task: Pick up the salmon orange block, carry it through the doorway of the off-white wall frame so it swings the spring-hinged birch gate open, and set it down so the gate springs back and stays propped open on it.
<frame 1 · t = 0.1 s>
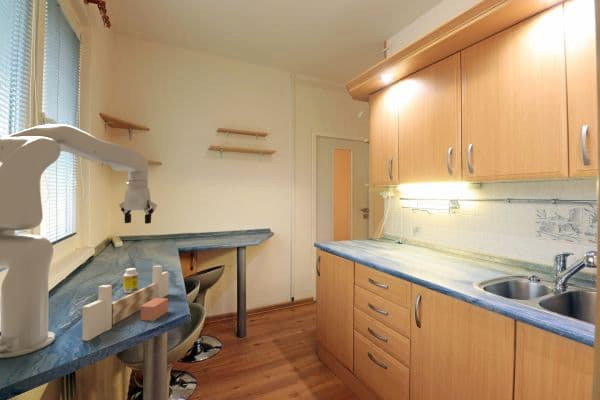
hand: (137, 223, 123), 31 cm above the worktop, fingers open, 9 cm apart
salmon orange block: (154, 316, 99), on the worktop
supplement bottle: (130, 292, 124), on the worktop
gate door: (134, 302, 102), point 4 cm above the worktop, hinge at 0.0°
wall frame: (135, 311, 102), on the worktop
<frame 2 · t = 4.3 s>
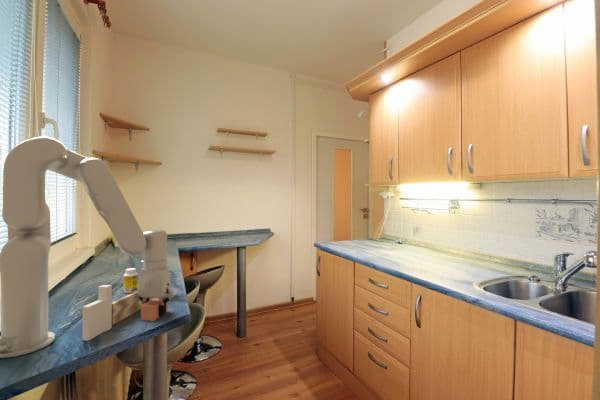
hand: (154, 314, 99), 0 cm above the worktop, fingers closed on salmon orange block, 5 cm apart
salmon orange block: (154, 315, 99), on the worktop, touching gripper
everything else where it was.
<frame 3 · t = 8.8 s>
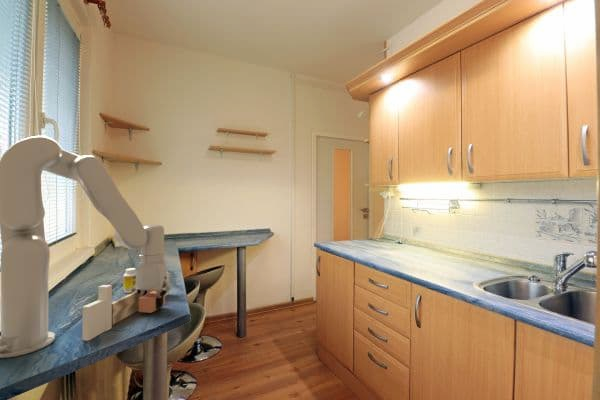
hand: (152, 306, 103), 2 cm above the worktop, fingers closed on salmon orange block, 5 cm apart
salmon orange block: (152, 307, 103), point 1 cm above the worktop, touching gripper
gate door: (134, 302, 102), point 4 cm above the worktop, hinge at 0.6°, touching gripper
everything else where it was.
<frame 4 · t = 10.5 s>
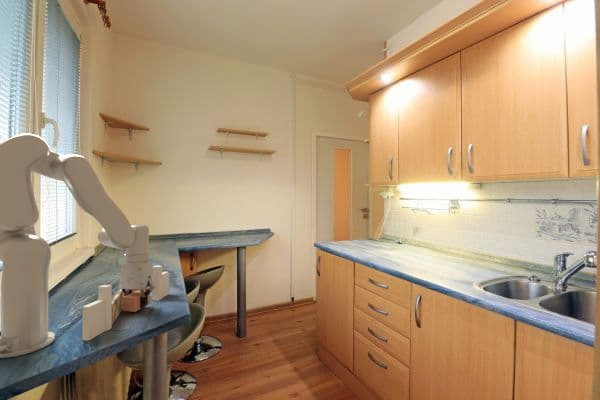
hand: (136, 305, 103), 2 cm above the worktop, fingers closed on salmon orange block, 5 cm apart
salmon orange block: (137, 306, 103), point 1 cm above the worktop, touching gripper
gate door: (118, 302, 101), point 4 cm above the worktop, hinge at 27.8°, touching gripper
everything else where it was.
when the fingers open (2 cm above the worktop, at t = 12.7 s): salmon orange block drops 2 cm, on the worktop.
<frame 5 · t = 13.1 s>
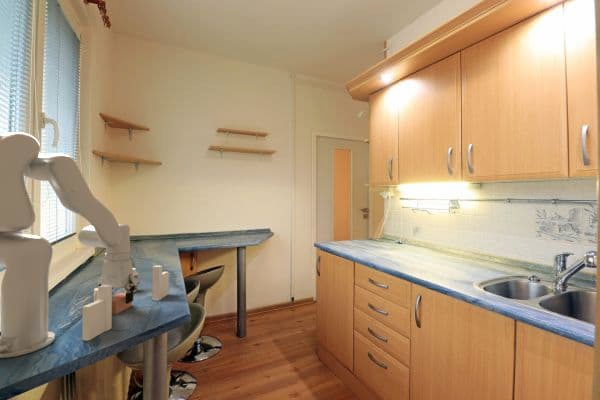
hand: (118, 301, 105), 3 cm above the worktop, fingers open, 9 cm apart
salmon orange block: (118, 309, 105), on the worktop
gate door: (102, 305, 98), point 4 cm above the worktop, hinge at 52.8°, touching gripper
everything else where it was.
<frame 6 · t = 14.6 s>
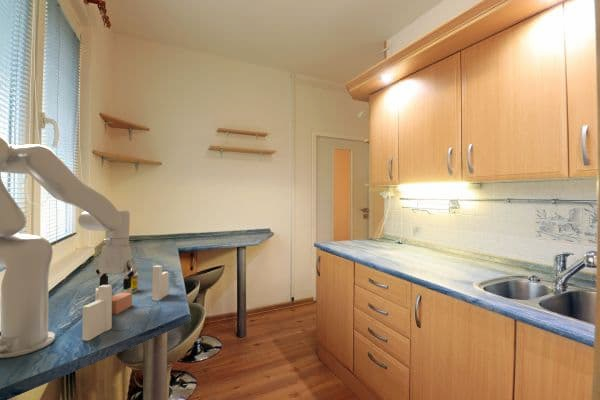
hand: (115, 288, 104), 8 cm above the worktop, fingers open, 9 cm apart
salmon orange block: (118, 309, 105), on the worktop, touching gate door
gate door: (103, 305, 98), point 4 cm above the worktop, hinge at 51.5°, touching salmon orange block
everything else where it was.
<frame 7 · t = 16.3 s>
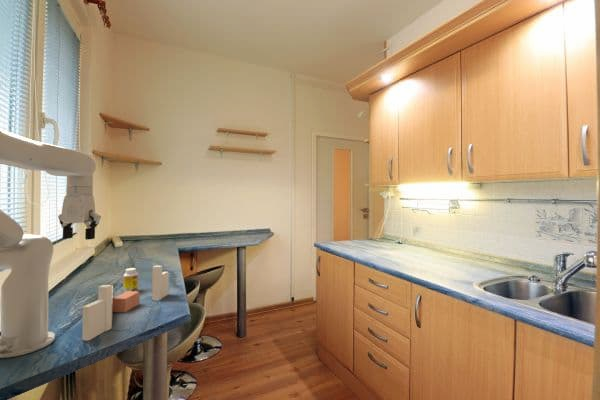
hand: (78, 238, 100), 27 cm above the worktop, fingers open, 9 cm apart
salmon orange block: (126, 307, 106), on the worktop, touching gate door
gate door: (110, 304, 100), point 4 cm above the worktop, hinge at 40.5°, touching salmon orange block
everything else where it was.
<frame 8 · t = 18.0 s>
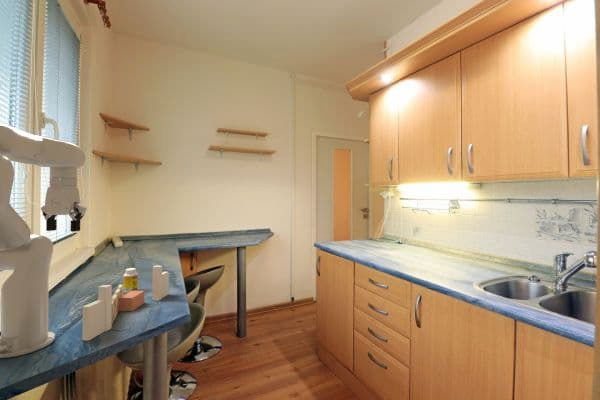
hand: (63, 230, 99), 30 cm above the worktop, fingers open, 9 cm apart
salmon orange block: (132, 306, 107), on the worktop, touching gate door
gate door: (115, 303, 101), point 4 cm above the worktop, hinge at 32.2°, touching salmon orange block
everything else where it was.
at the end: gate door at +32° (first picture: +0°); salmon orange block inside the target area on the worktop beside the wall frame (3.9 cm from its centre), on the worktop; the gripper is holding nothing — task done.
